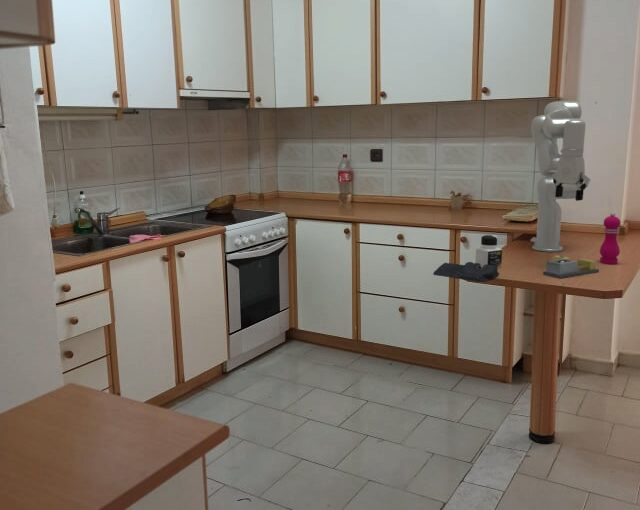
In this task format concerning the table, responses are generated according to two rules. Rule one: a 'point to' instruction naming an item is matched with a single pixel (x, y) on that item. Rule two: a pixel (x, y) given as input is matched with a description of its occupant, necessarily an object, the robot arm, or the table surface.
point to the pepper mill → (610, 240)
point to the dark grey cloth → (468, 271)
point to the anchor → (560, 257)
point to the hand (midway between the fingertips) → (568, 198)
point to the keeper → (578, 269)
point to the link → (561, 266)
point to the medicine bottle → (489, 252)
